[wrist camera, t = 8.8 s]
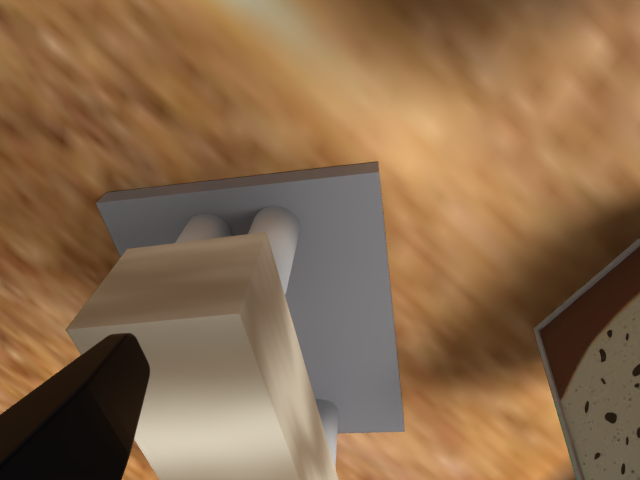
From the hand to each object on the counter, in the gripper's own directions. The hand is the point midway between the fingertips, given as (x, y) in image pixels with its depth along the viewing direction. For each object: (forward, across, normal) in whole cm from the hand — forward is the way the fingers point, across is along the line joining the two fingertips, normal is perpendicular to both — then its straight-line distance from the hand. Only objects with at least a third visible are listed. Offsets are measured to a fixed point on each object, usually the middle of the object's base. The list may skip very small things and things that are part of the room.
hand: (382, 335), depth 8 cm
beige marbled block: (+7, +6, +10) cm, 14 cm away
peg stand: (+12, +6, +10) cm, 17 cm away
